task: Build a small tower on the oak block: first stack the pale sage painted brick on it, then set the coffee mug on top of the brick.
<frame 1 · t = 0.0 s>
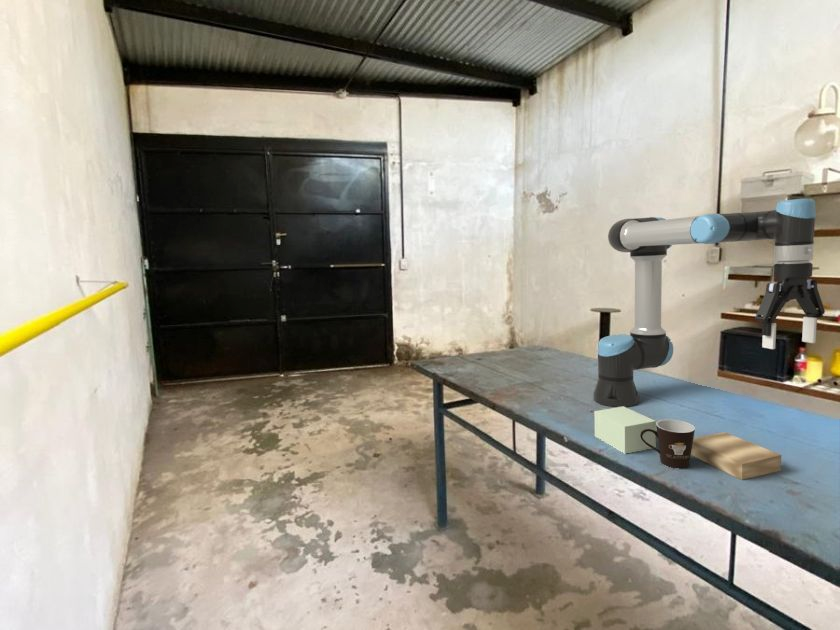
hand: (788, 345, 115), 28 cm above the table, tool pointing down, fingers open, 13 cm apart
sage brick: (623, 442, 129), on the table
oak block: (732, 461, 114), on the table
coffee mug: (668, 462, 116), on the table
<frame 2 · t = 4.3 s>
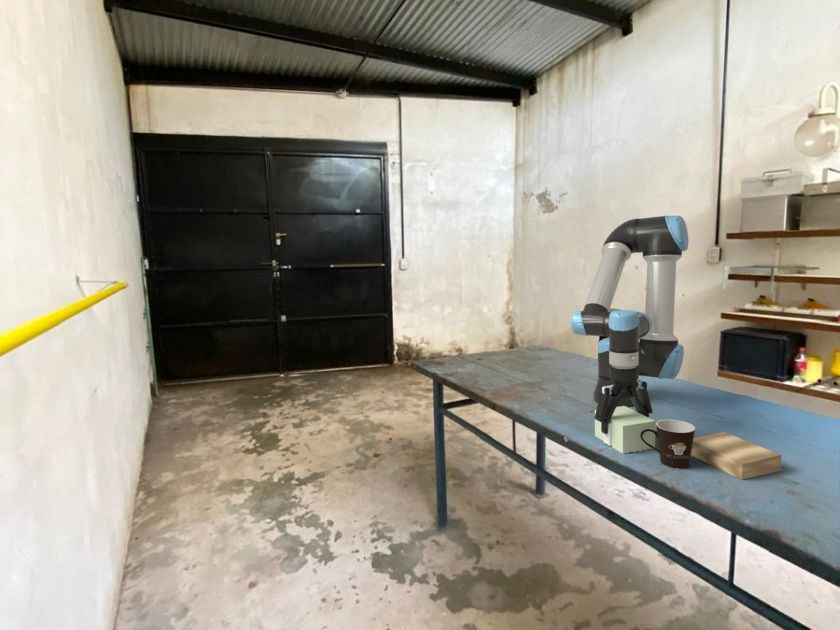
hand: (623, 440, 129), 0 cm above the table, tool pointing down, fingers closed on sage brick, 10 cm apart
sage brick: (623, 442, 129), on the table, touching gripper
everything else where it was.
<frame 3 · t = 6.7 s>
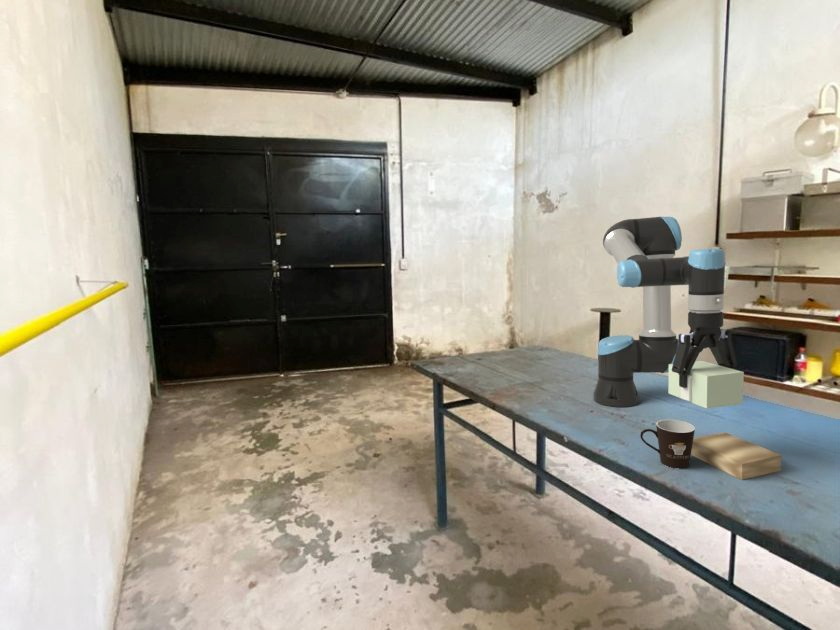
hand: (704, 396, 115), 16 cm above the table, tool pointing down, fingers closed on sage brick, 10 cm apart
sage brick: (703, 398, 115), point 16 cm above the table, touching gripper
everything else where it was.
when the fingers open (5 cm above the table, at t = 9.7 s): sage brick stays where it is, resting on oak block.
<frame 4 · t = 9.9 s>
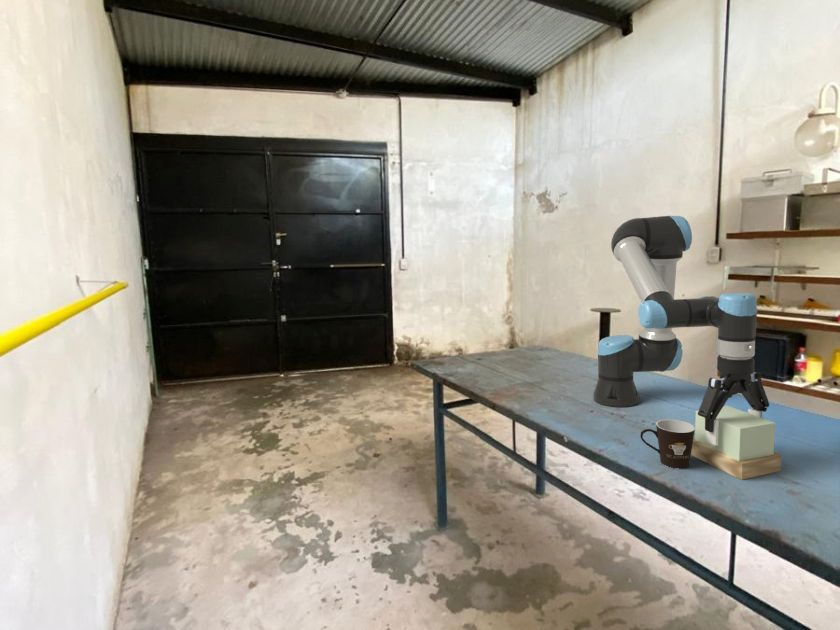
hand: (732, 438, 113), 6 cm above the table, tool pointing down, fingers open, 13 cm apart
sage brick: (732, 446, 113), point 4 cm above the table, touching oak block
everything else where it was.
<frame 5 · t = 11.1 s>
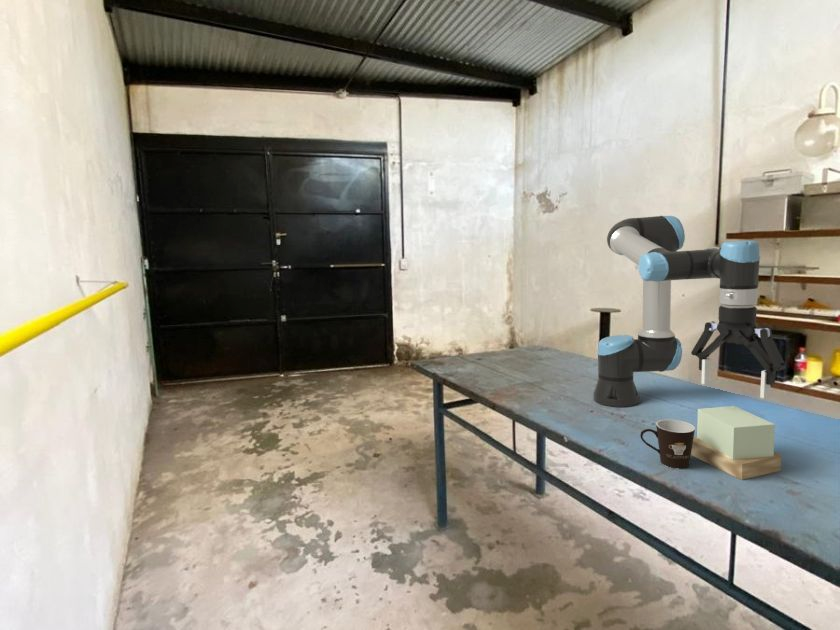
hand: (733, 389, 112), 19 cm above the table, tool pointing down, fingers open, 13 cm apart
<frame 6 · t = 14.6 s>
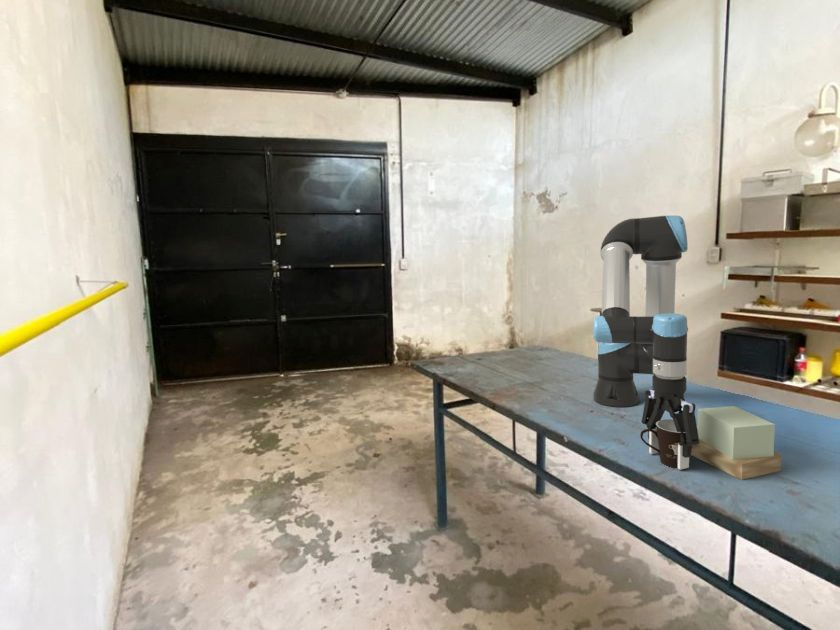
hand: (668, 459, 116), 0 cm above the table, tool pointing down, fingers open, 9 cm apart
coffee mug: (668, 462, 116), on the table, touching gripper
everything else where it was.
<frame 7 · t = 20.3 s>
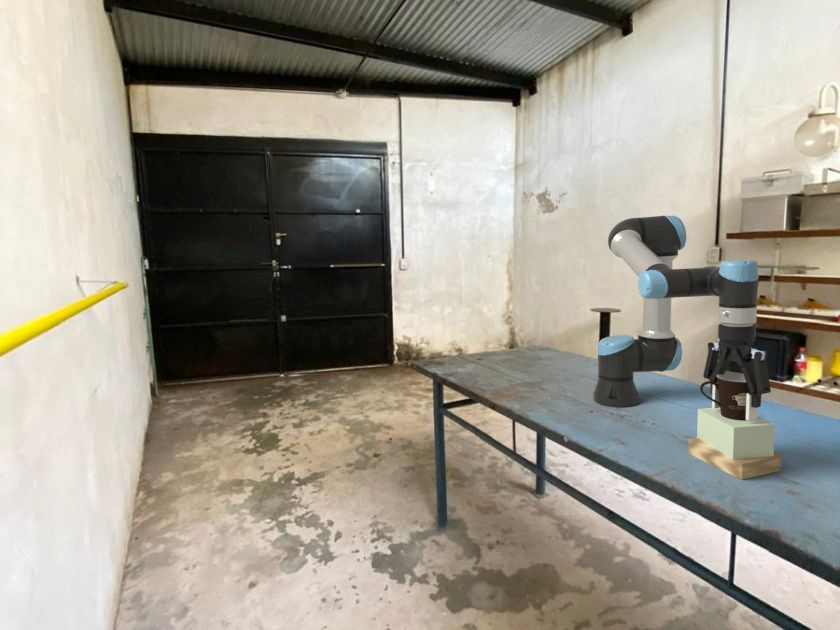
hand: (733, 412, 112), 13 cm above the table, tool pointing down, fingers open, 8 cm apart
sage brick: (733, 446, 114), point 4 cm above the table, touching coffee mug, oak block
coffee mug: (728, 415, 114), point 12 cm above the table, touching sage brick
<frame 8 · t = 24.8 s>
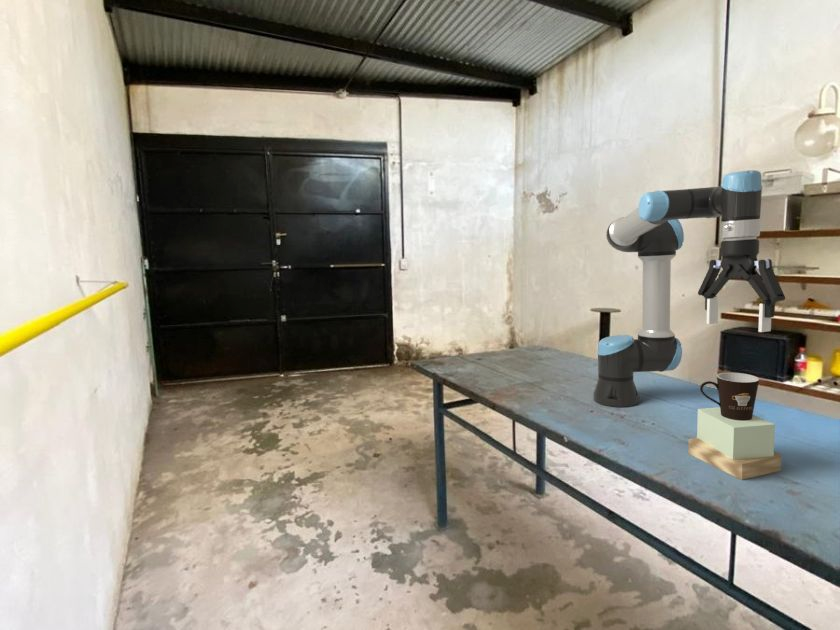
hand: (736, 327, 109), 35 cm above the table, tool pointing down, fingers open, 13 cm apart
nothing on the table moved.
at the end: sage brick inside the target area on the oak block (0.3 cm from its centre), point 4.0 cm above the oak block's base; coffee mug inside the target area on the oak block (1.3 cm from its centre), point 11.8 cm above the oak block's base; coffee mug tilted 0° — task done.
